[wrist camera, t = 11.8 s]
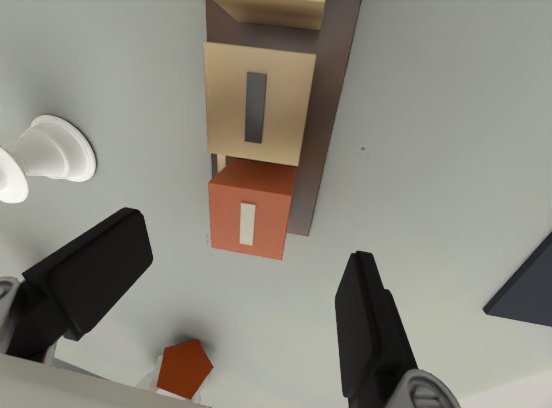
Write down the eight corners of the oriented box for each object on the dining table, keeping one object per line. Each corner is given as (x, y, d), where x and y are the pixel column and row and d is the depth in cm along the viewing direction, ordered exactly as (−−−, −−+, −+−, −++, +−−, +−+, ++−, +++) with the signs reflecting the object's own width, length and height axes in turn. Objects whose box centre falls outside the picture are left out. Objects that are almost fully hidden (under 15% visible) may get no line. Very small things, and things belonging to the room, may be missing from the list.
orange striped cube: (233, 157, 16) (207, 183, 12) (296, 167, 15) (291, 196, 11) (233, 211, 18) (210, 248, 14) (288, 221, 17) (281, 261, 13)
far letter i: (236, 54, 13) (201, 40, 9) (314, 64, 12) (316, 53, 8) (235, 135, 15) (207, 153, 11) (301, 144, 14) (297, 167, 10)
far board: (203, -187, 9) (196, -204, 9) (400, -179, 9) (406, -196, 8) (215, 217, 19) (212, 220, 18) (308, 233, 18) (308, 237, 18)
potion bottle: (171, 370, 37) (198, 315, 31) (201, 431, 32) (238, 379, 27) (104, 416, 30) (123, 353, 24) (130, 503, 25) (162, 451, 19)
